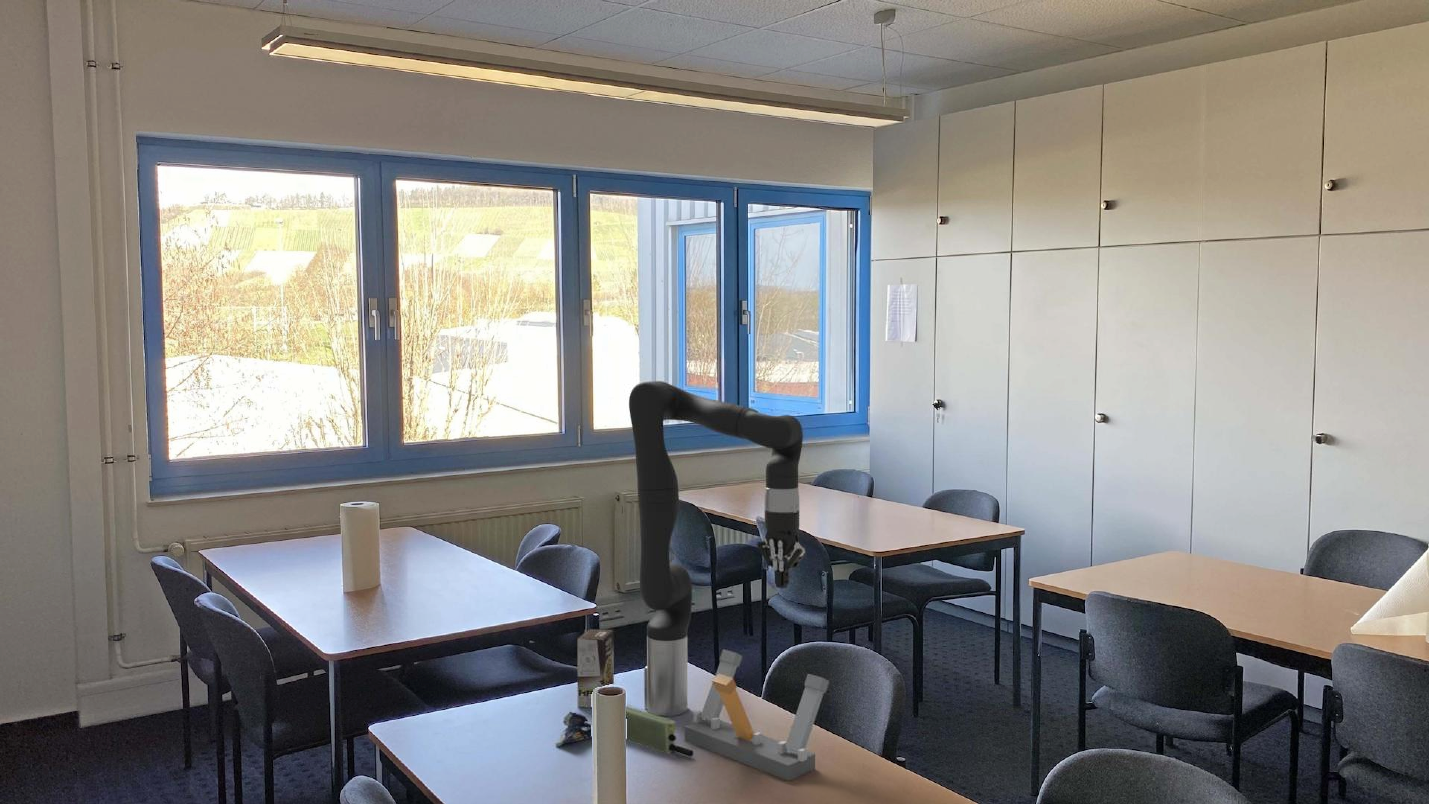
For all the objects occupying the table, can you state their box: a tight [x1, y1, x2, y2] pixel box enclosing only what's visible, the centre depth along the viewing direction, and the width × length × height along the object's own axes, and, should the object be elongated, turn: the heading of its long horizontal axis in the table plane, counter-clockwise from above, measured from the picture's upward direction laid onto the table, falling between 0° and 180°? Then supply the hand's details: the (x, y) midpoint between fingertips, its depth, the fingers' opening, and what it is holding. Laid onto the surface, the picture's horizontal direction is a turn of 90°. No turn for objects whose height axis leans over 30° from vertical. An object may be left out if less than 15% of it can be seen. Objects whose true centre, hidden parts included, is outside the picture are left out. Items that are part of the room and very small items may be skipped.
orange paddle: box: [711, 674, 754, 741], centre depth 212 cm, size 4×2×15 cm, turn 45°
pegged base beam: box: [684, 710, 816, 782], centre depth 215 cm, size 30×8×5 cm, turn 45°
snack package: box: [555, 711, 592, 747], centre depth 225 cm, size 12×6×12 cm
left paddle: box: [700, 648, 743, 721], centre depth 226 cm, size 4×2×15 cm, turn 45°
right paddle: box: [785, 673, 830, 753], centre depth 209 cm, size 4×2×15 cm, turn 45°
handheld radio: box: [625, 705, 694, 758], centre depth 221 cm, size 7×3×25 cm
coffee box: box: [576, 628, 615, 709], centre depth 247 cm, size 9×6×16 cm
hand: (781, 587), depth 229 cm, fingers closed
